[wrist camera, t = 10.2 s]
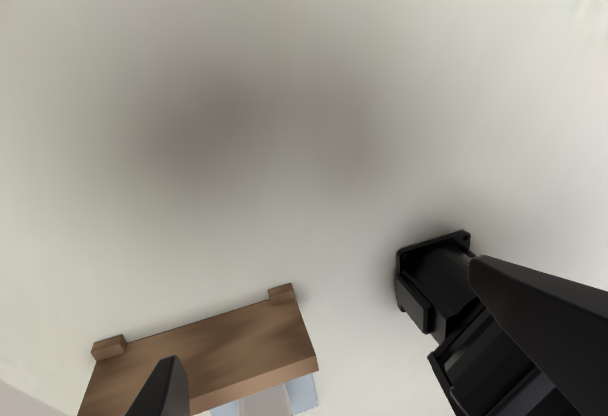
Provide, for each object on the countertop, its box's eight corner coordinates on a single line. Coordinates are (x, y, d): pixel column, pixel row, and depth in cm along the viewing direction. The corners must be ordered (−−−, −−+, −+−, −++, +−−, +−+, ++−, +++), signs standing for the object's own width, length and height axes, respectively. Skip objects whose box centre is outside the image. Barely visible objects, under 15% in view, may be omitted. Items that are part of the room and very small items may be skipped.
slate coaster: (302, 334, 27) (304, 340, 26) (316, 399, 31) (318, 405, 30) (193, 371, 25) (193, 377, 25) (224, 434, 30) (224, 441, 29)
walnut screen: (290, 283, 24) (313, 345, 19) (297, 313, 26) (320, 379, 21) (94, 343, 22) (59, 432, 17) (114, 373, 23) (87, 464, 18)
